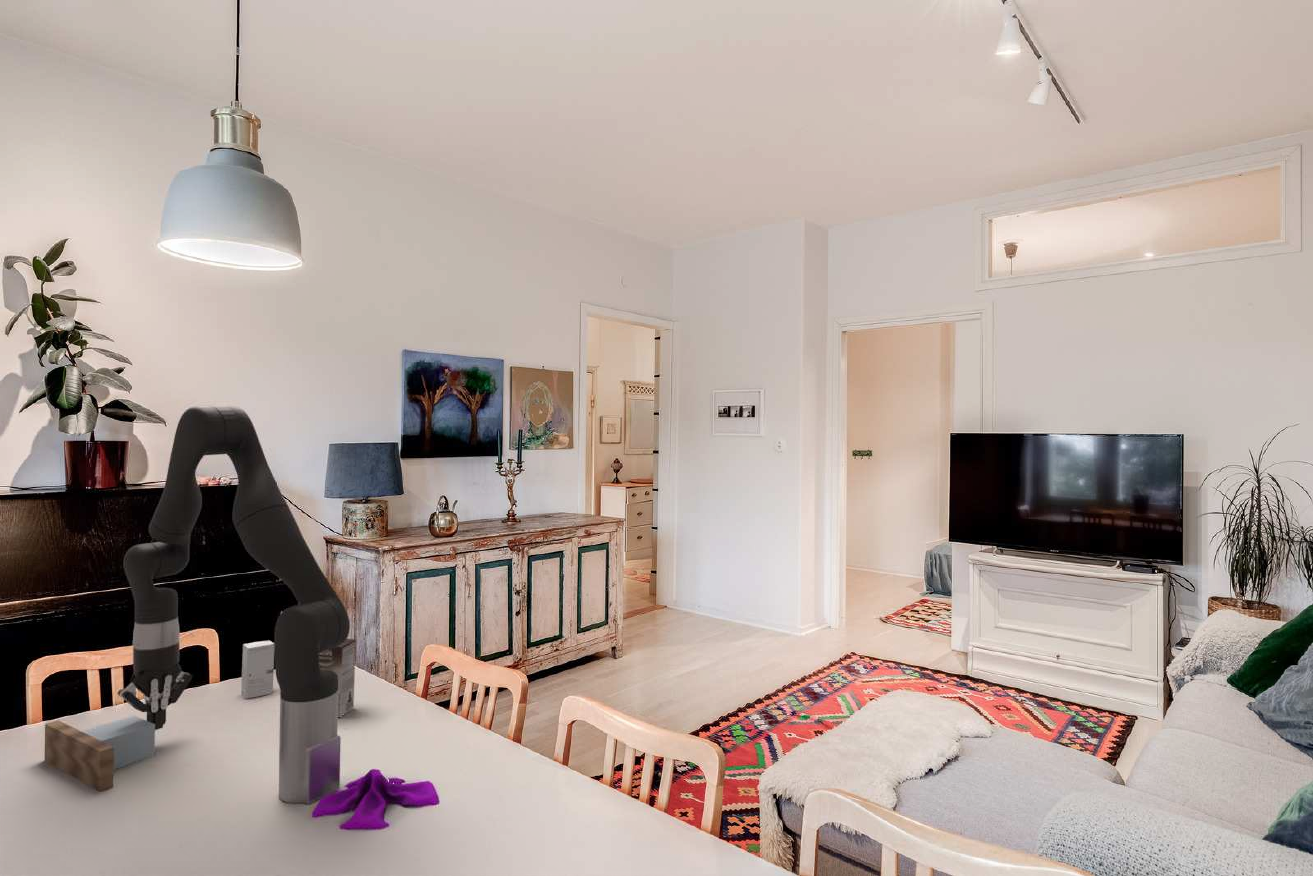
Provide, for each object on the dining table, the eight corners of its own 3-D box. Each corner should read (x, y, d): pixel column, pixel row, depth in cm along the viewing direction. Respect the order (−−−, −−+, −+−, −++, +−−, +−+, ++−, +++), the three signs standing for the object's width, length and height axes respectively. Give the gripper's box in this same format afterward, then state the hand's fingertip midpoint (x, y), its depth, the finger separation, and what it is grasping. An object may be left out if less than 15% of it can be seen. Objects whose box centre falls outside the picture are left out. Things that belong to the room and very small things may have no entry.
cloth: (459, 794, 125) (460, 760, 125) (374, 847, 109) (375, 807, 109) (371, 765, 135) (371, 733, 135) (281, 809, 119) (282, 773, 119)
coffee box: (301, 716, 156) (302, 644, 156) (317, 705, 163) (318, 636, 163) (340, 719, 155) (341, 646, 155) (355, 708, 162) (356, 638, 162)
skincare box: (245, 699, 165) (246, 648, 165) (240, 694, 169) (241, 644, 169) (274, 693, 170) (275, 643, 170) (268, 688, 173) (269, 639, 173)
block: (154, 755, 137) (154, 724, 137) (93, 776, 128) (93, 743, 128) (133, 745, 141) (134, 715, 141) (73, 765, 132) (73, 733, 132)
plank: (113, 786, 124) (113, 747, 124) (99, 791, 123) (100, 751, 123) (57, 756, 135) (58, 720, 135) (44, 760, 134) (45, 723, 134)
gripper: (127, 654, 133) (127, 745, 133) (201, 636, 144) (201, 720, 144) (108, 647, 136) (108, 736, 137) (182, 631, 148) (182, 713, 148)
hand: (156, 728), depth 140 cm, fingers closed
